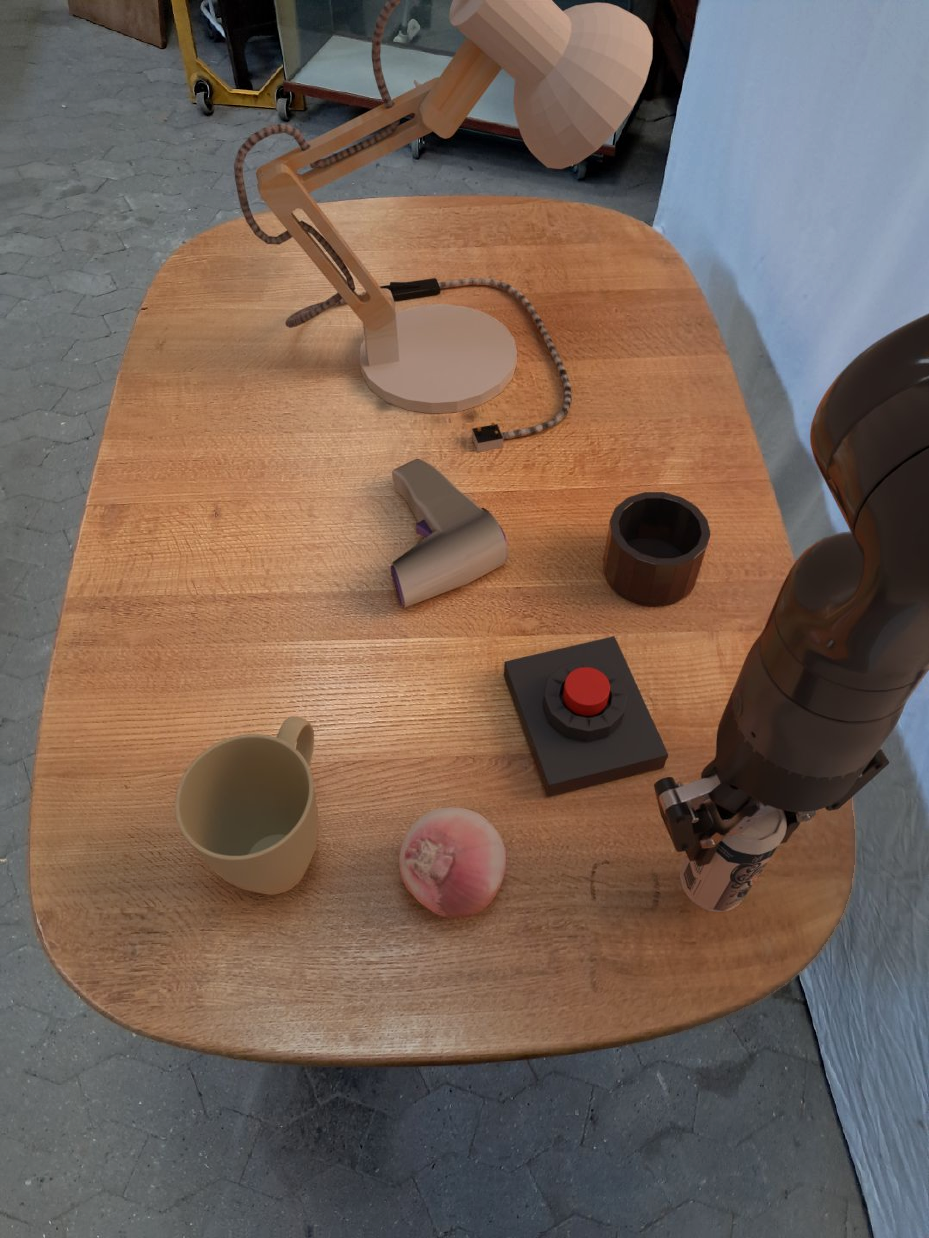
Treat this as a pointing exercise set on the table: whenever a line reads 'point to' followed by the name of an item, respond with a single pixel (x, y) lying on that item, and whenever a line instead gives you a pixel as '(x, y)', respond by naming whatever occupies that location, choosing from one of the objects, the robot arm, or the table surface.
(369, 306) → the desk lamp
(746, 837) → the beer can
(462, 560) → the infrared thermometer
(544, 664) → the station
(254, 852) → the mug
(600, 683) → the button
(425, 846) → the onion
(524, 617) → the table surface
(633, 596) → the holder
